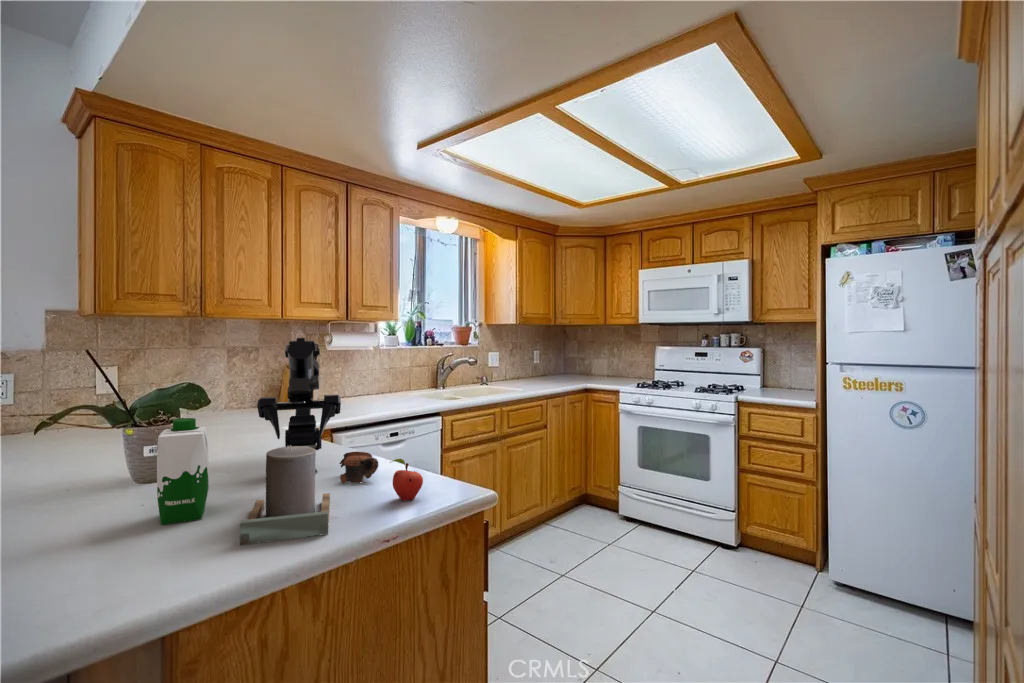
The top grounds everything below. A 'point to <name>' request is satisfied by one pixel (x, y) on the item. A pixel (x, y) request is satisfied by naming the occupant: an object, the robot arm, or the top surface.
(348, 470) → the pottery mug
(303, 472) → the pillar candle
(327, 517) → the channel
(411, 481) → the apple
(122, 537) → the top surface
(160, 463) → the milk carton
